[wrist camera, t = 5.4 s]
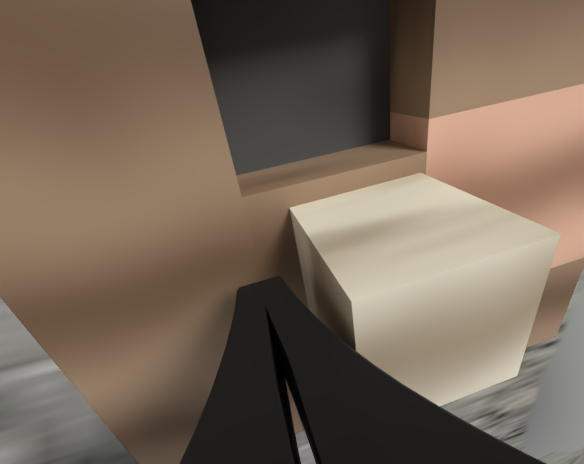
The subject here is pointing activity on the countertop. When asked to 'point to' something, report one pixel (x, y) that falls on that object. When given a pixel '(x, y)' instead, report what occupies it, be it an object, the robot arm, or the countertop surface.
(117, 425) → the trap deck
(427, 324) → the block
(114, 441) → the countertop surface
